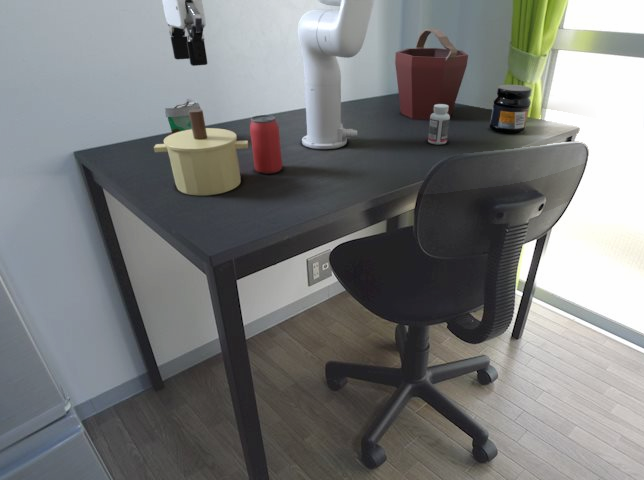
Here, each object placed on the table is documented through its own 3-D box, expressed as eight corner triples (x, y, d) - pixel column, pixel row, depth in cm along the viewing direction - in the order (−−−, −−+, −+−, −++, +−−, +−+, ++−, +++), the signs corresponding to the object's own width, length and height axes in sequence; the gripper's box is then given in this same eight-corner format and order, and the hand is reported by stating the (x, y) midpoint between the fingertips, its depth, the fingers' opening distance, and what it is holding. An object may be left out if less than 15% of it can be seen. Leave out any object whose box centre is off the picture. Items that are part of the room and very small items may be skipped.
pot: (170, 174, 105) (160, 133, 100) (253, 170, 108) (248, 129, 102) (158, 198, 94) (146, 153, 89) (252, 192, 97) (246, 148, 91)
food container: (193, 149, 121) (185, 109, 115) (172, 147, 122) (164, 108, 116) (213, 136, 131) (207, 99, 125) (194, 134, 132) (187, 98, 126)
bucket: (463, 123, 143) (476, 33, 128) (394, 123, 143) (400, 32, 128) (450, 105, 163) (461, 25, 148) (390, 105, 163) (394, 25, 148)
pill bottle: (444, 139, 129) (449, 103, 124) (448, 145, 125) (453, 107, 119) (426, 139, 129) (429, 103, 123) (429, 145, 125) (433, 108, 119)
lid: (171, 134, 101) (164, 103, 97) (238, 132, 103) (234, 101, 99) (158, 156, 89) (149, 121, 85) (235, 153, 91) (230, 118, 87)
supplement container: (522, 136, 132) (532, 92, 125) (486, 132, 135) (494, 89, 128) (525, 127, 140) (534, 85, 133) (491, 124, 143) (498, 83, 136)
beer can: (270, 176, 105) (264, 123, 97) (249, 171, 107) (242, 119, 100) (288, 168, 109) (283, 117, 102) (267, 163, 112) (261, 113, 105)
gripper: (210, -47, 76) (225, 66, 86) (177, -44, 87) (194, 55, 97) (165, -49, 72) (186, 69, 82) (137, -46, 84) (159, 57, 93)
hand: (190, 61), depth 90 cm, fingers open, 9 cm apart
